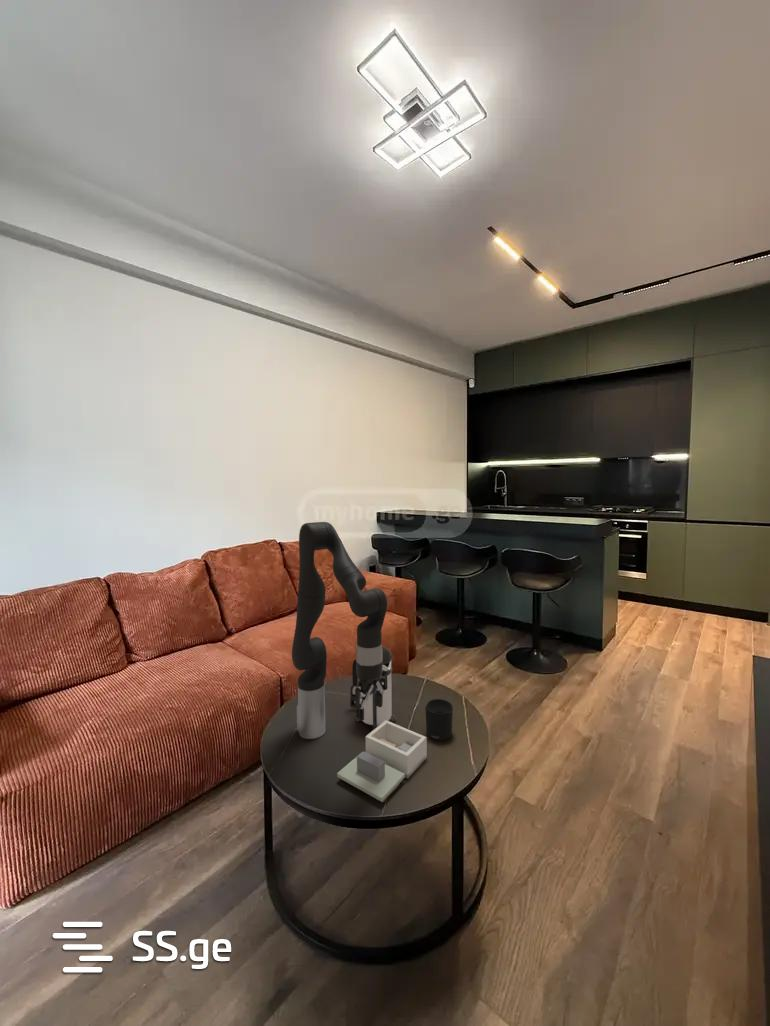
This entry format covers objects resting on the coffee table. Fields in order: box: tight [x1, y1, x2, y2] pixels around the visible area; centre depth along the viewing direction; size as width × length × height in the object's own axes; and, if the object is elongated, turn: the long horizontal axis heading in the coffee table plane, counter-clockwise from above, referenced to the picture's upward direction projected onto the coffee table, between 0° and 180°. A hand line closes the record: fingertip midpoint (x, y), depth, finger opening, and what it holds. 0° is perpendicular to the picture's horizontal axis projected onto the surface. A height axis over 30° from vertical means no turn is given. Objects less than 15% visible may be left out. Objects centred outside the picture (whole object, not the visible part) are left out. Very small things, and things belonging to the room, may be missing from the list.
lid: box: [336, 750, 406, 803], centre depth 120 cm, size 16×11×7 cm
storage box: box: [365, 720, 428, 779], centre depth 130 cm, size 16×11×7 cm
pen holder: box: [424, 698, 454, 742], centre depth 142 cm, size 9×9×10 cm
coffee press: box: [351, 645, 397, 731], centre depth 150 cm, size 17×16×30 cm
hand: (369, 712), depth 118 cm, fingers open, 8 cm apart
